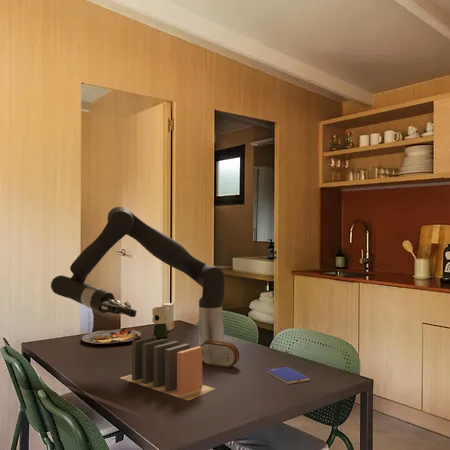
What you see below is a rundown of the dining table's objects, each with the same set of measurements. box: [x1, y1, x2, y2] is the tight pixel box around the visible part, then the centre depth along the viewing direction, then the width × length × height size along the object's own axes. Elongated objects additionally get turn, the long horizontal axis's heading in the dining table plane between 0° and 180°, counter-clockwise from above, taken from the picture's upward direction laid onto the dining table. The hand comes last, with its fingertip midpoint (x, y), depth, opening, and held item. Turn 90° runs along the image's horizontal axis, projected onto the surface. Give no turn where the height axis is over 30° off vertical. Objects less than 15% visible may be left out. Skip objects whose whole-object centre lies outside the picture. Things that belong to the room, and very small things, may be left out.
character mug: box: [151, 306, 169, 339], centre depth 207 cm, size 11×7×13 cm, turn 39°
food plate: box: [81, 327, 142, 345], centre depth 203 cm, size 25×23×4 cm
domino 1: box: [131, 335, 158, 381], centre depth 151 cm, size 2×9×12 cm, turn 141°
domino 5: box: [177, 345, 203, 395], centre depth 138 cm, size 2×9×12 cm, turn 141°
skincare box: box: [161, 302, 175, 331], centre depth 224 cm, size 6×4×12 cm
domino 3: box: [153, 340, 179, 388], centre depth 145 cm, size 2×9×12 cm, turn 141°
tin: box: [200, 340, 240, 368], centre depth 166 cm, size 15×3×8 cm, turn 65°
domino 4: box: [165, 343, 191, 391], centre depth 141 cm, size 2×9×12 cm, turn 141°
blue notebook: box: [267, 366, 310, 385], centre depth 154 cm, size 2×8×12 cm
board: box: [120, 373, 216, 401], centre depth 145 cm, size 30×12×1 cm, turn 51°
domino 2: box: [142, 338, 168, 384], centre depth 148 cm, size 2×9×12 cm, turn 141°
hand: (134, 314), depth 156 cm, fingers closed
